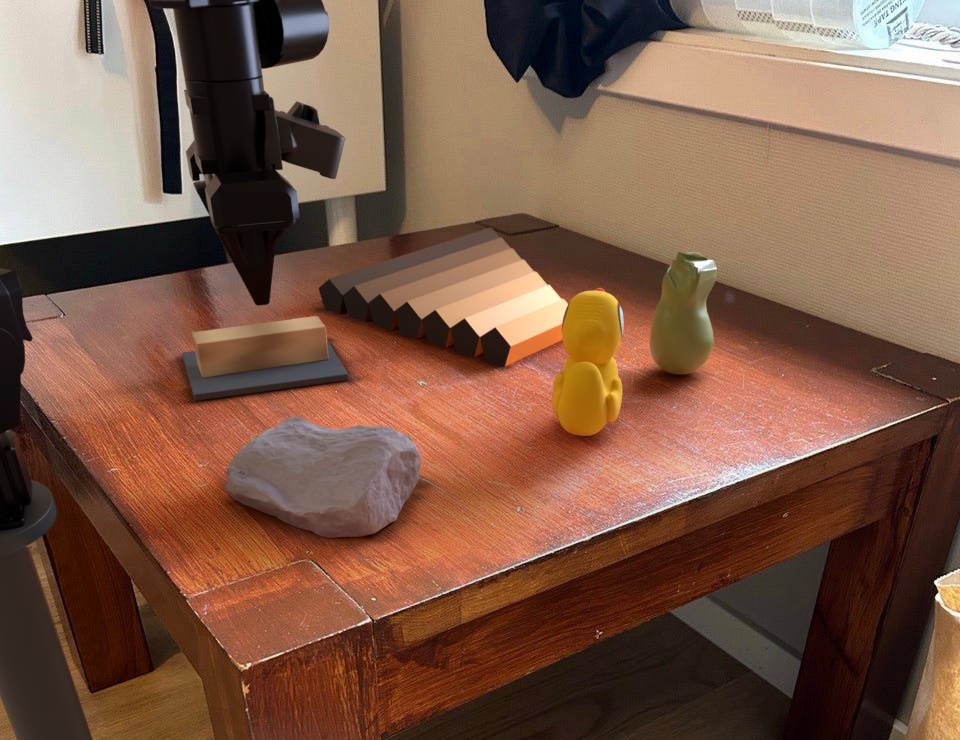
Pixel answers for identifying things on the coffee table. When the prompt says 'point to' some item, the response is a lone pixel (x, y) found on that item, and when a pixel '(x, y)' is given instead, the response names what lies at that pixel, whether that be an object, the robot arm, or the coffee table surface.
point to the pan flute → (456, 298)
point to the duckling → (589, 364)
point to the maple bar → (260, 346)
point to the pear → (684, 315)
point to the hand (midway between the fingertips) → (253, 287)
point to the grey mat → (263, 377)
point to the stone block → (326, 476)
